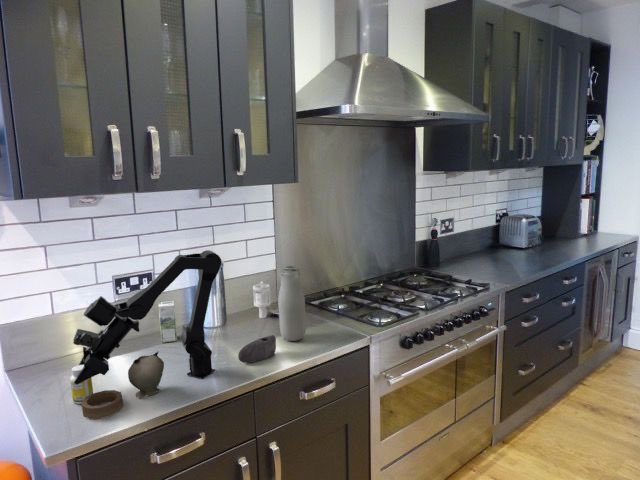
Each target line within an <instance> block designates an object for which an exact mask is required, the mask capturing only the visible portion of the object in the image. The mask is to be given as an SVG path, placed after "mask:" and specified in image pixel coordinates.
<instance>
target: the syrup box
mask: <svg viewBox="0 0 640 480" xmlns="http://www.w3.org/2000/svg"><path fill="white" fill-rule="evenodd" d="M175 306H176V305H175V301H174V300H171V301H170V300H169V301H163V302H161V301H160V302H158V315H159V327H160V338H161V343H162V344H163V343H171V342H178V334H177V323H176V321H177V320H176V310H175Z"/></svg>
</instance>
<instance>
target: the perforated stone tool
mask: <svg viewBox="0 0 640 480" xmlns="http://www.w3.org/2000/svg"><path fill="white" fill-rule="evenodd" d="M276 341H277V337H276V336H275V335H274V334H271V335H268V336H264V337H261V338H258V339H256V340H253V341H251V342H249V343H247V344H246V345H244V346H243V347H242V348H241V349H240V350H239V352H238V360H239V361H240V362H241V363H244V364H246V363H253V362H259V361H262V360H266V359H268V358H269V357H273V356H274V355H276V350H277V343H276Z"/></svg>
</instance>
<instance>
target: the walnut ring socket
mask: <svg viewBox="0 0 640 480" xmlns="http://www.w3.org/2000/svg"><path fill="white" fill-rule="evenodd" d="M81 403H82V404H81V409H82V415H83V417H84V418H87V419H89V420H96V419H103V418H107V417H111V416H113V415H115V414H117V413H119V412H120V411H121V410H122V408H123V407H124V399H123V395H122V392H121V391H119V390H115V389H110V390H109V389H107V390H106V389H105V390H101V391H96V392H93V394H91V395H89V396H87V397H86V398H85V399H84V400H83V401H82V402H81ZM100 404H102V405H100Z"/></svg>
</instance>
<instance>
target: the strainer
mask: <svg viewBox="0 0 640 480" xmlns="http://www.w3.org/2000/svg"><path fill="white" fill-rule="evenodd" d="M252 291H253V292H252V294H253V307H256V308H258V317H259V319H266V318H267V307H269V306H271V304H272V303H271V287H270V284H268V283H264V281H260V282H259V283H257V284H254V285H253V286H252Z"/></svg>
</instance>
